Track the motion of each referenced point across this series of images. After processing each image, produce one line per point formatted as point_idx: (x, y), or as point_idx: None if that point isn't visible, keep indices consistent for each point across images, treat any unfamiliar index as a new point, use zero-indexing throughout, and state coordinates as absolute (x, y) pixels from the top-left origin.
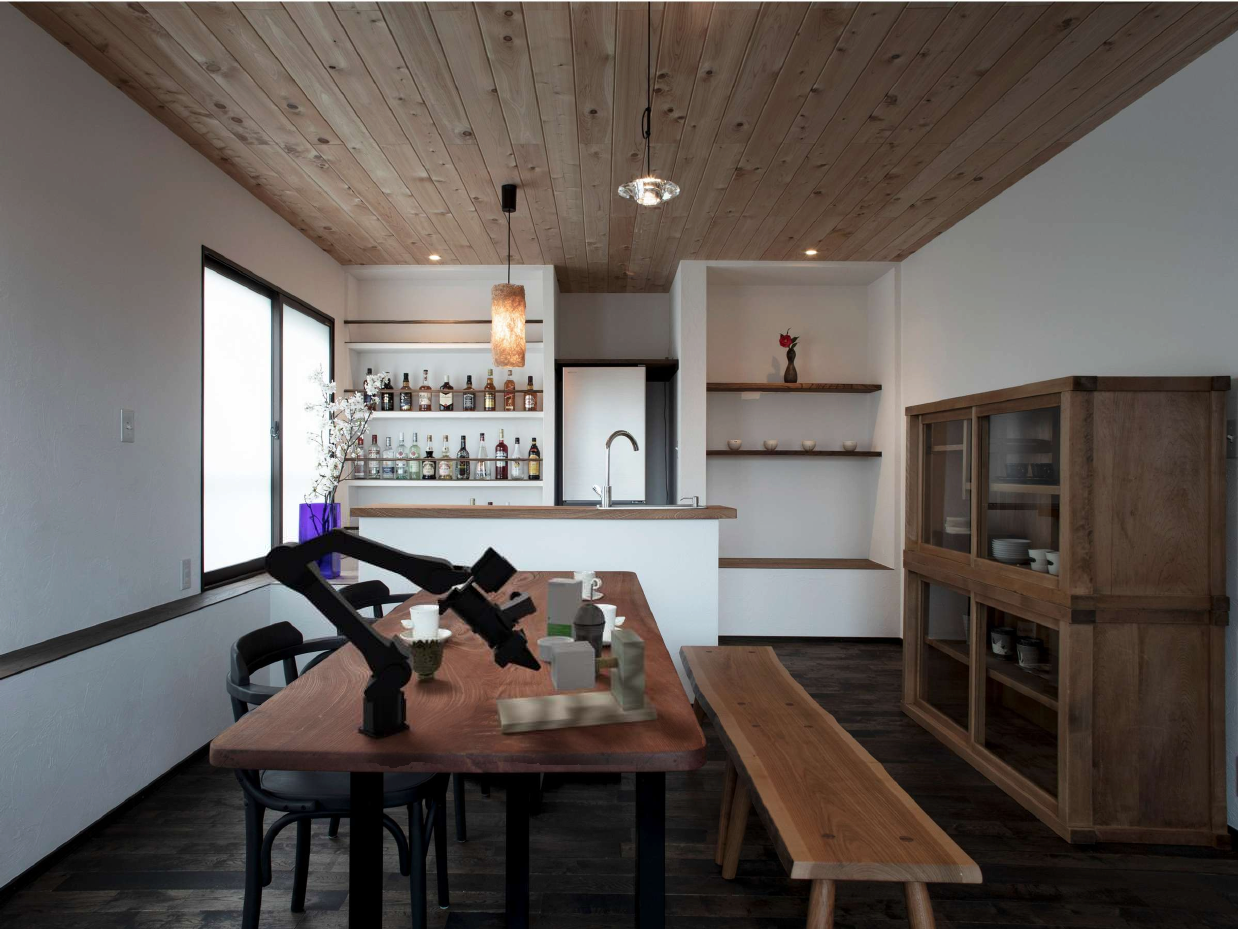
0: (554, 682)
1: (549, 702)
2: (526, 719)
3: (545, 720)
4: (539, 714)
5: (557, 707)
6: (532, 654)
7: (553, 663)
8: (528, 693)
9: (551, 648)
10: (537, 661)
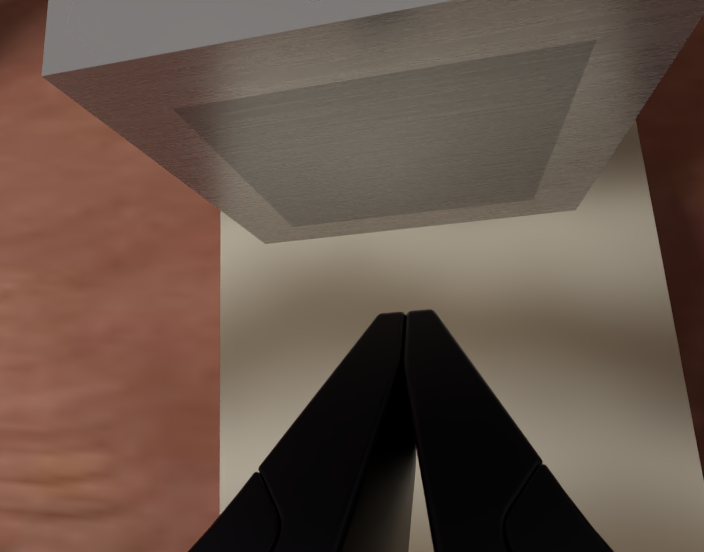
0: (432, 215)
1: (337, 290)
2: (642, 460)
3: (674, 333)
4: (549, 365)
5: (435, 246)
6: (426, 438)
7: (344, 161)
8: (53, 400)
9: (106, 119)
10: (452, 352)
